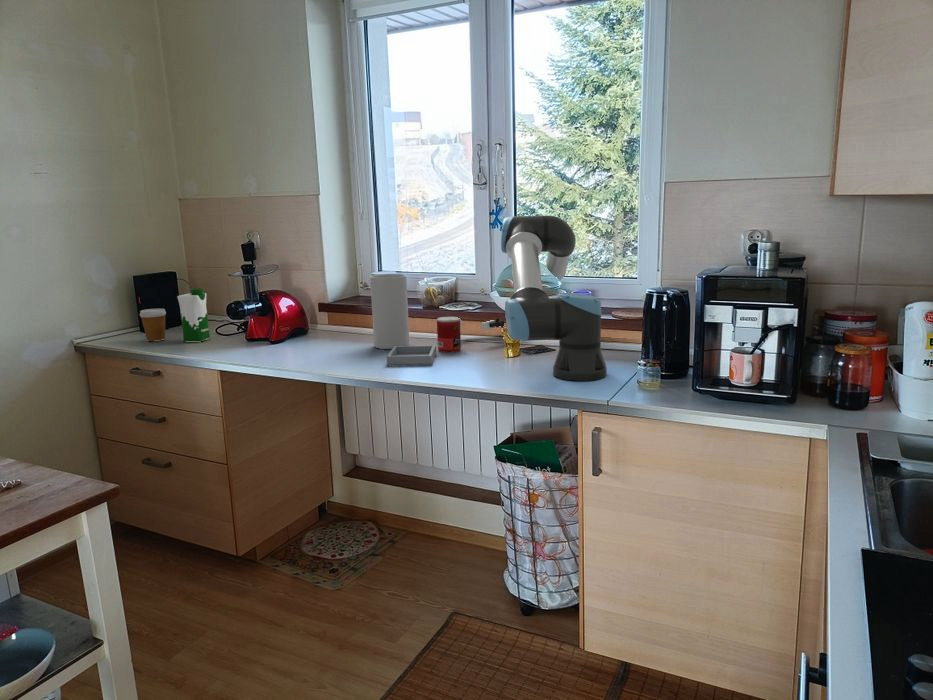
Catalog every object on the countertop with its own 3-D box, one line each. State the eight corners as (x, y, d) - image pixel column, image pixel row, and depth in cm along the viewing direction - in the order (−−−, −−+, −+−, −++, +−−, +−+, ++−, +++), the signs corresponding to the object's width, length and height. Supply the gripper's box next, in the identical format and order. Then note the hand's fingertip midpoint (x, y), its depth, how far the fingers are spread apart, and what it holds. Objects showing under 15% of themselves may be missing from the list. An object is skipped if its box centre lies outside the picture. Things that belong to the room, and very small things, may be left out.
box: (431, 365, 215) (431, 355, 214) (387, 366, 216) (386, 356, 215) (436, 354, 231) (435, 345, 230) (394, 354, 231) (394, 346, 231)
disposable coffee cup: (163, 342, 264) (159, 311, 261) (138, 343, 264) (134, 312, 261) (173, 338, 273) (170, 307, 270) (149, 338, 273) (146, 308, 271)
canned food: (458, 352, 232) (457, 320, 229) (435, 352, 233) (434, 320, 231) (463, 348, 239) (462, 316, 237) (440, 347, 241) (439, 316, 238)
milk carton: (202, 343, 261) (196, 290, 256) (179, 343, 262) (173, 290, 258) (213, 338, 269) (208, 287, 265) (191, 338, 270) (186, 287, 266)
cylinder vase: (404, 350, 238) (401, 277, 233) (369, 350, 240) (365, 278, 235) (413, 342, 250) (410, 273, 245) (380, 342, 252) (376, 274, 247)
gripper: (531, 328, 251) (495, 339, 235) (478, 322, 267) (441, 331, 251) (531, 308, 249) (495, 317, 233) (478, 303, 265) (440, 311, 249)
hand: (467, 324), depth 242 cm, fingers open, 13 cm apart
